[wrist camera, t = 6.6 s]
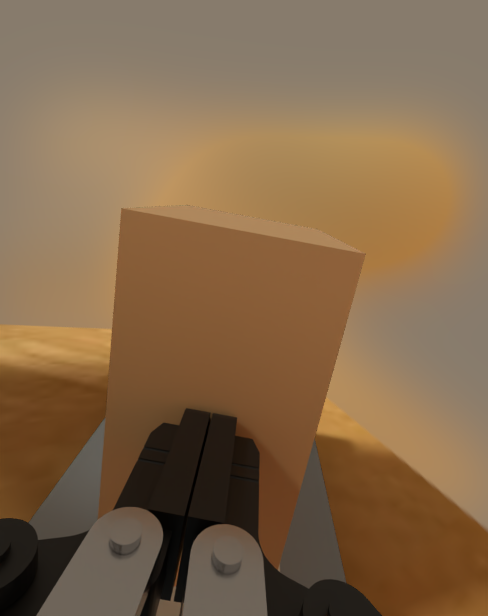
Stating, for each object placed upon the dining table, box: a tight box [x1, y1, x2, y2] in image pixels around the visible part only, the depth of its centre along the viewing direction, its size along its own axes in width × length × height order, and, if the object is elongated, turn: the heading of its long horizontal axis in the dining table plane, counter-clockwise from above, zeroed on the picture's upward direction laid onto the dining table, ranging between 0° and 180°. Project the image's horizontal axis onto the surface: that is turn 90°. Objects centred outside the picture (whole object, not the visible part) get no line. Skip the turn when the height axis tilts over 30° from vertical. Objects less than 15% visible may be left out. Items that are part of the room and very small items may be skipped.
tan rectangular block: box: [98, 205, 366, 586], centre depth 14 cm, size 8×6×12 cm
